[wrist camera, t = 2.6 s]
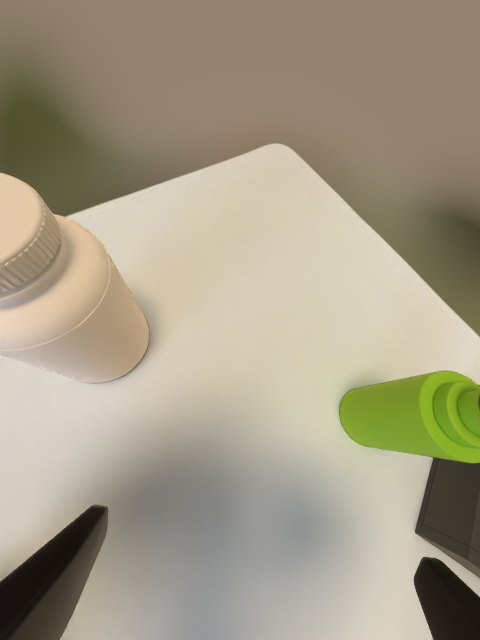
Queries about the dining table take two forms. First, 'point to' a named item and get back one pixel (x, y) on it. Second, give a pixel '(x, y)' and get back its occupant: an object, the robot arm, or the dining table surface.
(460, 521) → the tote
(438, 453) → the green bottle
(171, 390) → the dining table surface
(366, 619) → the dining table surface
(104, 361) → the pill bottle
